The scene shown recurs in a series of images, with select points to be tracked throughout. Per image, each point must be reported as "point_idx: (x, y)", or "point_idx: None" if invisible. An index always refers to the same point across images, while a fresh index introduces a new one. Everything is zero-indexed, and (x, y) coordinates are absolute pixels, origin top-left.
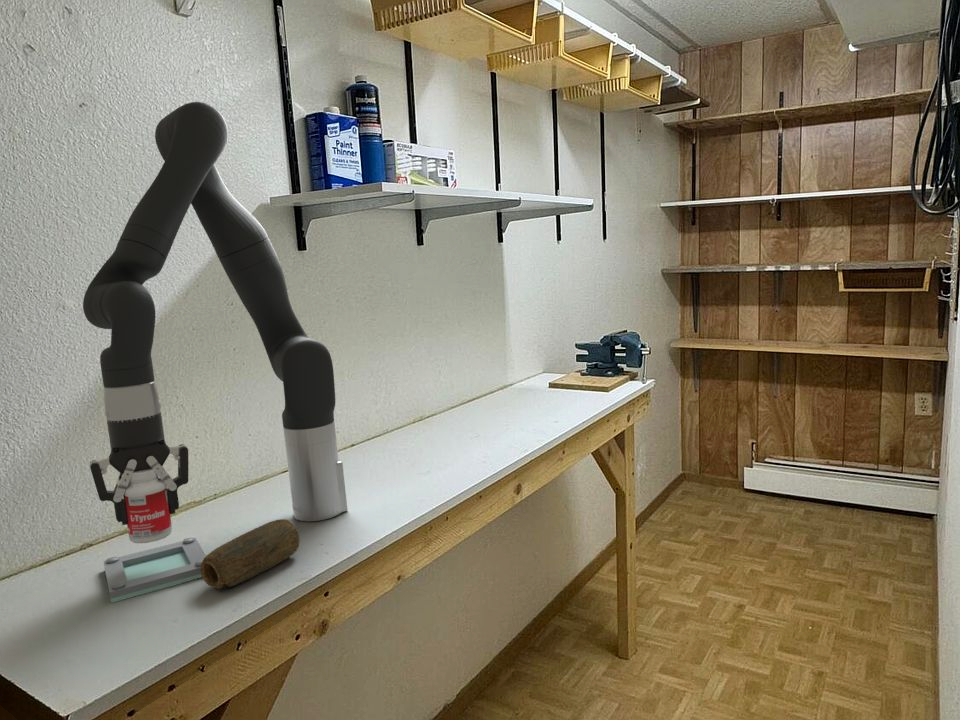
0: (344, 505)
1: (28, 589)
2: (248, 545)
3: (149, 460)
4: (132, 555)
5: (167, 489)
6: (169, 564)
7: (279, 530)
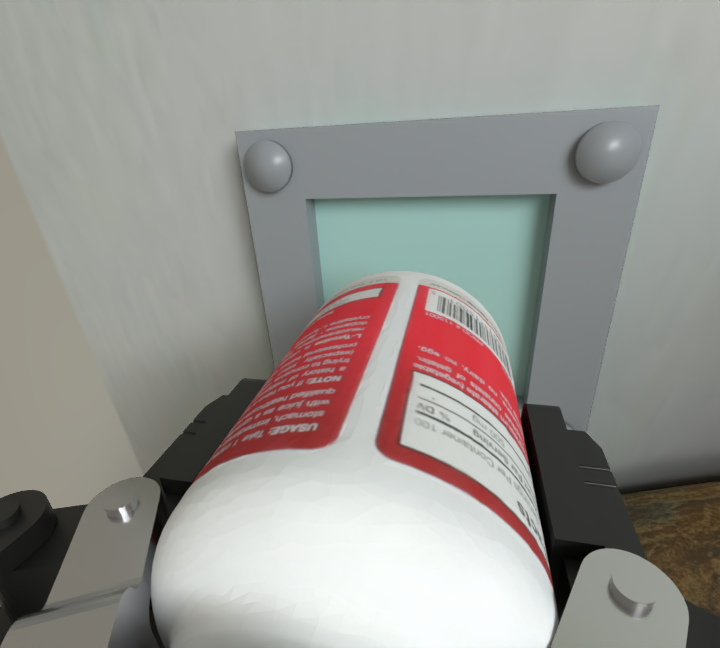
0: None
1: (44, 133)
2: None
3: None
4: (343, 152)
5: (562, 560)
6: (469, 292)
7: None
